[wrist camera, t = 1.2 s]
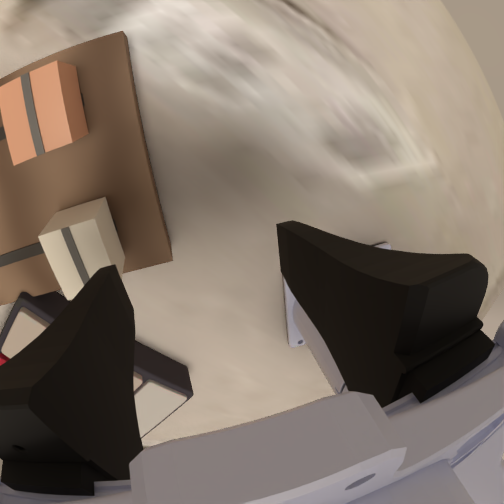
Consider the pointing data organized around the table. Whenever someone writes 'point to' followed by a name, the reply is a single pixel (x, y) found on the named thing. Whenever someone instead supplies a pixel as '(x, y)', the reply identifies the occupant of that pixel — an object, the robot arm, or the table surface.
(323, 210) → the table surface
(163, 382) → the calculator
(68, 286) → the ivory fader
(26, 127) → the terracotta fader
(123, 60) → the mixer panel
